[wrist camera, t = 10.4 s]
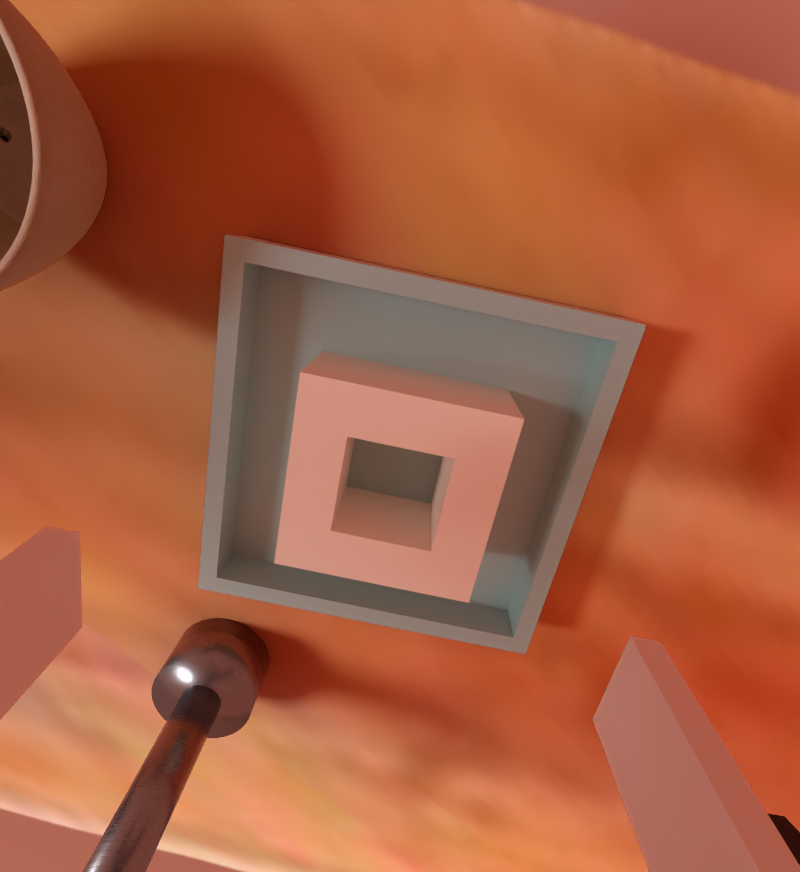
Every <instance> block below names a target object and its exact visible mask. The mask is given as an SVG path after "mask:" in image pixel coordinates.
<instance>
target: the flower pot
mask: <svg viewBox="0 0 800 872" xmlns="http://www.w3.org/2000/svg"><path fill="white" fill-rule="evenodd" d="M1 136H6V137H7V138H8V140H9V141H8V142H6V141H4V140H3V139H2V138H1ZM106 187H107V162H106V157H105V152H104V147H103V143H102V140H101V137H100V134H99V131H98V129H97V126H96V123H95V121H94V119H93V116H92V114H91V112H90V110H89V108H88V106H87V104H86V103H85V101H84V99H83V97H82V95H81V93H80V92H79V90H78V88H77V86H76V85H75V83H74V82H73V80H72V78H71V77H70V75H69V74H68V72H67V71H66V69H65V68H64V66H63V65H62V63H61V62H60V61H59V59H58V58H57V56H56V55H55V54H54V52H53V51H52V50H51V49H50V47H49V46H48V45H47V43H46V42H45V41H44V40H43V38H42V37H41V36H40V35H39V33H38V32H37V31H36V30H35V29H34V28H33V26H32V25H31V24H30V23H29V22H28V21H27V20H26V19H25V17H24V16H23V15H22V14H21V13H20V12H19V11H18V10H17V9H16V8H15V6H14V5H13V4H12V3H11V2H10V1H9V0H0V291H1V290H3V289H6V288H8V287H10V286H13V285H15V284H17V283H19V282H21V281H24V280H26V279H28V278H30V277H32V276H33V275H35V274H37V273H39V272H41V271H42V270H44V269H45V268H47V267H49V266H50V265H52V264H53V263H54V262H56V261H57V260H59V259H60V258H61V257H62V256H64V255H65V254H66V253H67V252H68V251H69V250H71V249H72V248H73V247H74V246H75V245H76V244H77V243H78V242H79V241H80V240H81V238H82V237H83V236H84V235H85V234H86V232H87V231H88V230H89V228H90V227H91V225H92V224H93V222H94V220H95V219H96V217H97V215H98V213H99V210H100V208H101V205H102V203H103V200H104V197H105V192H106Z"/></svg>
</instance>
